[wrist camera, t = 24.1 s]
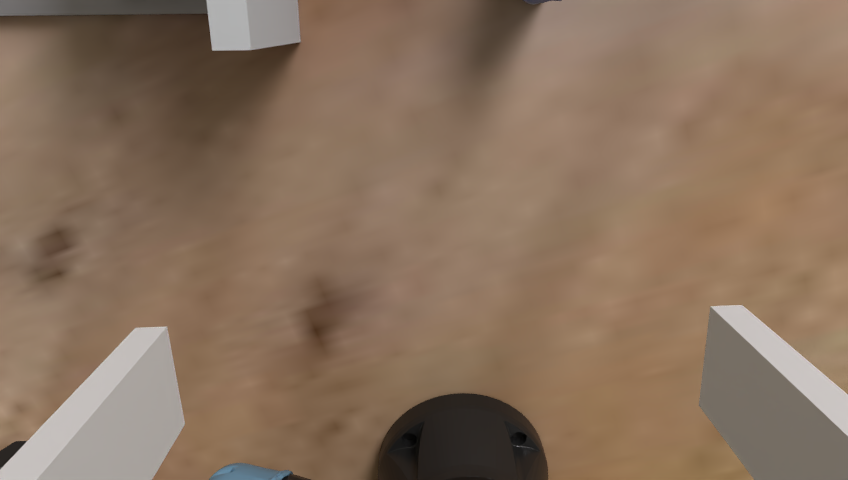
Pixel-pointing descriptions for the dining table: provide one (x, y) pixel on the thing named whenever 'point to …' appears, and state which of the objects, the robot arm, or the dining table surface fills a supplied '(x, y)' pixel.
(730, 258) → the dining table surface
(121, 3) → the backstop wall
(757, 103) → the dining table surface
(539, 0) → the flask
